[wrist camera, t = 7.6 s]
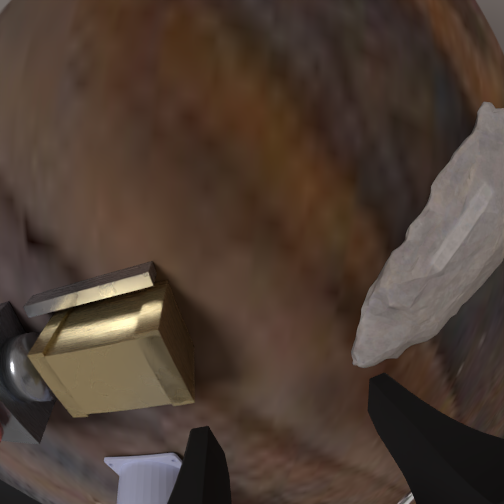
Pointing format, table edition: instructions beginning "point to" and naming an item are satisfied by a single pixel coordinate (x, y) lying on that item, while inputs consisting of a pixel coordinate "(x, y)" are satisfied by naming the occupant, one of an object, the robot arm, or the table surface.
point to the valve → (20, 343)
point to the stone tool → (440, 249)
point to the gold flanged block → (118, 354)
